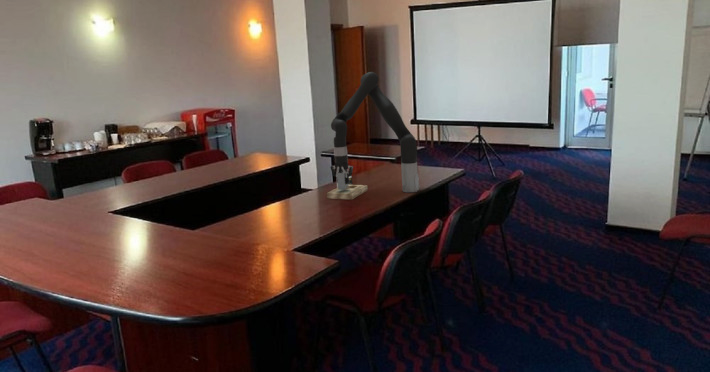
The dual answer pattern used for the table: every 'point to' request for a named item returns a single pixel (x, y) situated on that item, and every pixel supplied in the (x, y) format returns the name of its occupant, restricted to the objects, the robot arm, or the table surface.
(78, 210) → the table surface
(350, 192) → the pocket board
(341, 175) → the metal block
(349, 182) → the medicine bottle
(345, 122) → the robot arm
